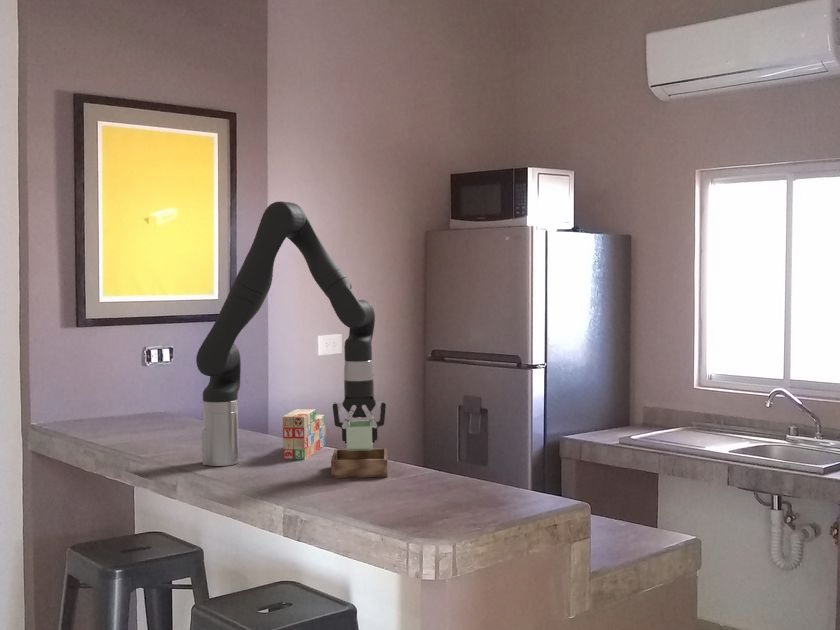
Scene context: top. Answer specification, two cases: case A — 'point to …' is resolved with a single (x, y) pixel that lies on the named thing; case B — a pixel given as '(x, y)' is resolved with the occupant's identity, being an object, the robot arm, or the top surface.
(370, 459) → the big crate
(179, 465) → the top surface
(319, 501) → the top surface
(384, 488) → the top surface
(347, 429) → the small crate
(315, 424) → the stack of blocks
